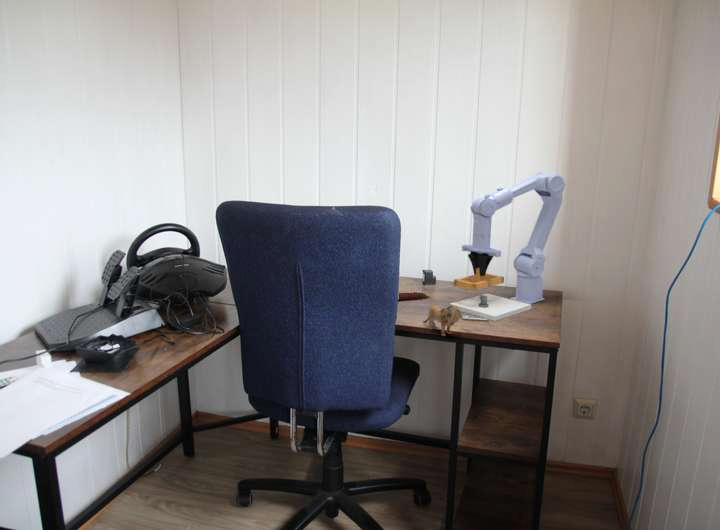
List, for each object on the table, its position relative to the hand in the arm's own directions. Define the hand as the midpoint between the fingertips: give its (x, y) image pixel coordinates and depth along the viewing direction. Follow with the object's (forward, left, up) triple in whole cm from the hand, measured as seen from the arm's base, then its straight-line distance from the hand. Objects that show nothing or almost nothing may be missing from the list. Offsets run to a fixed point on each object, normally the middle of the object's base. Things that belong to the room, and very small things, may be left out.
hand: (479, 275), depth 179 cm
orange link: (0, 0, -3) cm, 3 cm away
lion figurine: (+30, +10, -11) cm, 33 cm away
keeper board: (0, +5, -10) cm, 12 cm away
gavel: (+16, -21, -11) cm, 28 cm away
